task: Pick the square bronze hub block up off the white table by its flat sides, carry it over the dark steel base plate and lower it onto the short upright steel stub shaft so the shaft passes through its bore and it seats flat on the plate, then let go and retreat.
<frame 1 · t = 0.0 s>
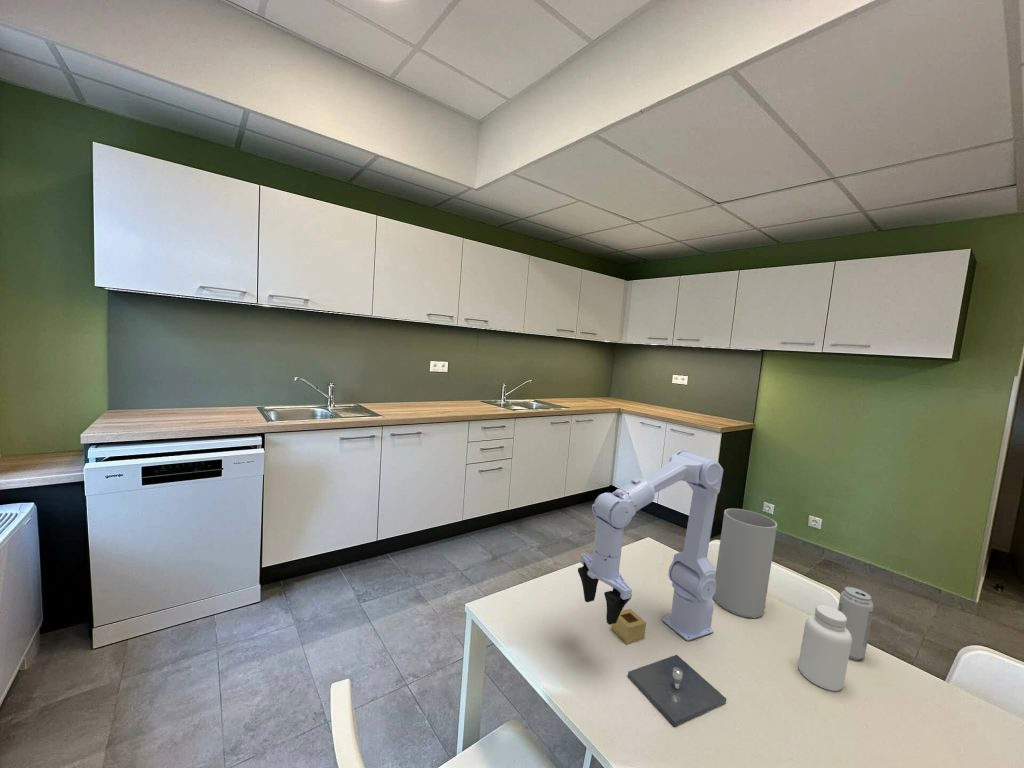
hand: (600, 611, 87), 10 cm above the table, fingers open, 7 cm apart
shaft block: (675, 689, 80), on the table
cylinder vase: (737, 605, 112), on the table
energy drink can: (847, 653, 96), on the table
hub: (627, 633, 96), on the table
pill bottle: (819, 678, 88), on the table
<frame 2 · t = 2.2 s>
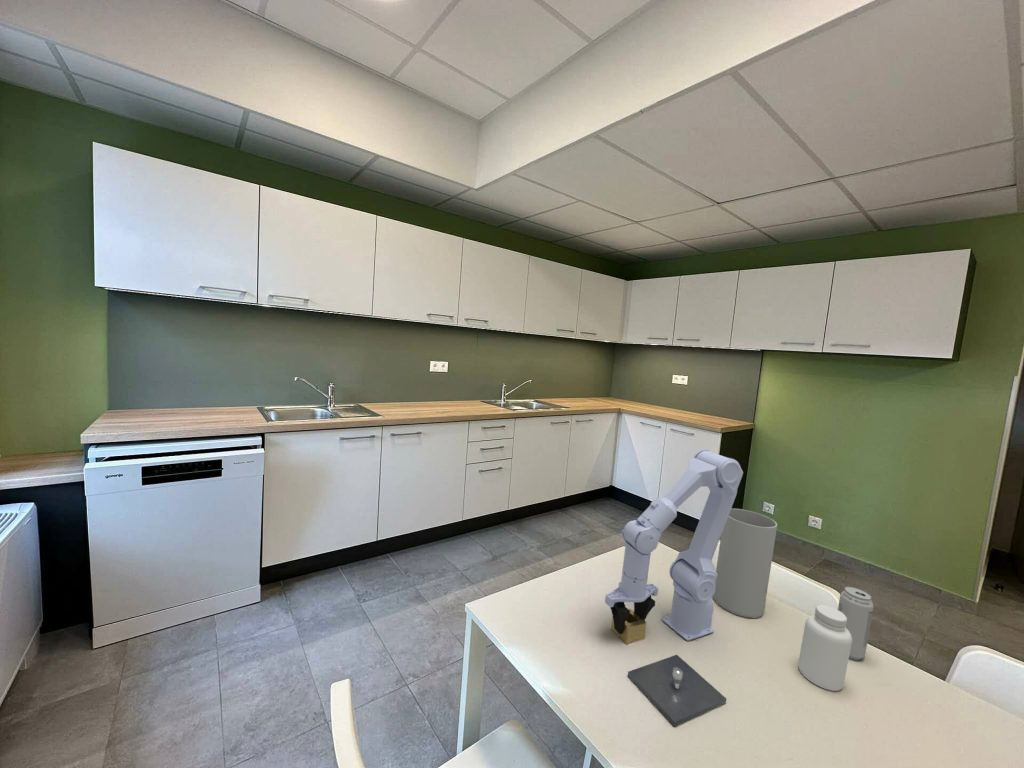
hand: (628, 628, 95), 1 cm above the table, fingers closed on hub, 5 cm apart
hub: (627, 633, 96), on the table, touching gripper
everything else where it was.
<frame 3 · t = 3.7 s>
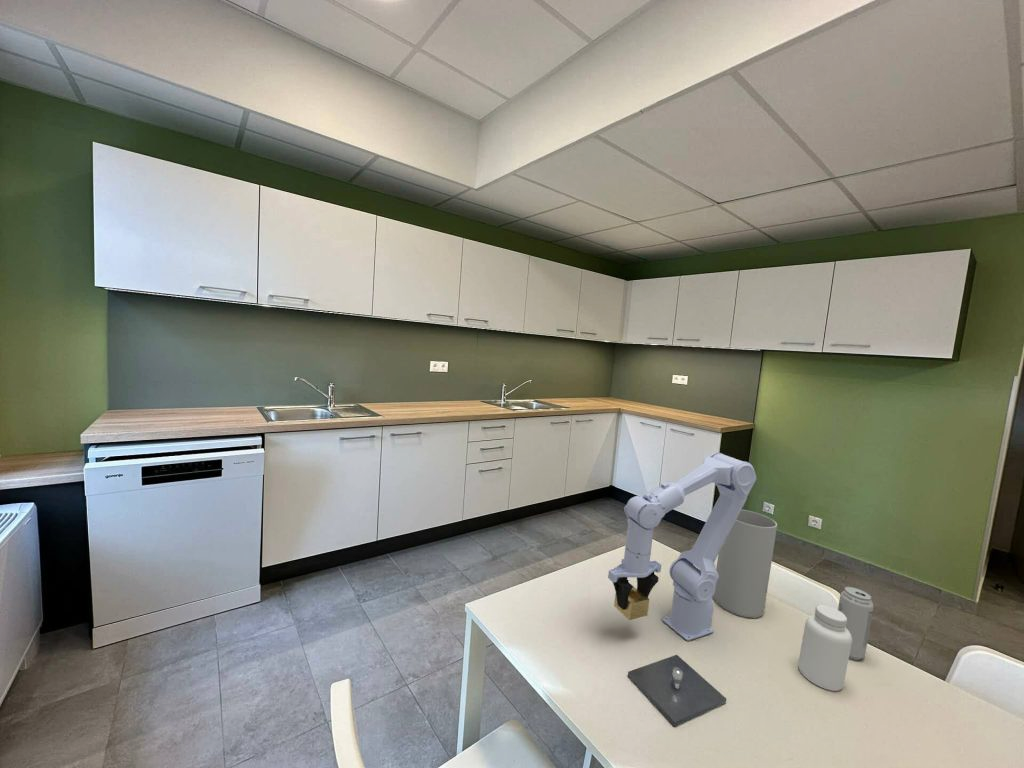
hand: (631, 604, 95), 7 cm above the table, fingers closed on hub, 5 cm apart
hub: (630, 610, 95), point 6 cm above the table, touching gripper
everything else where it was.
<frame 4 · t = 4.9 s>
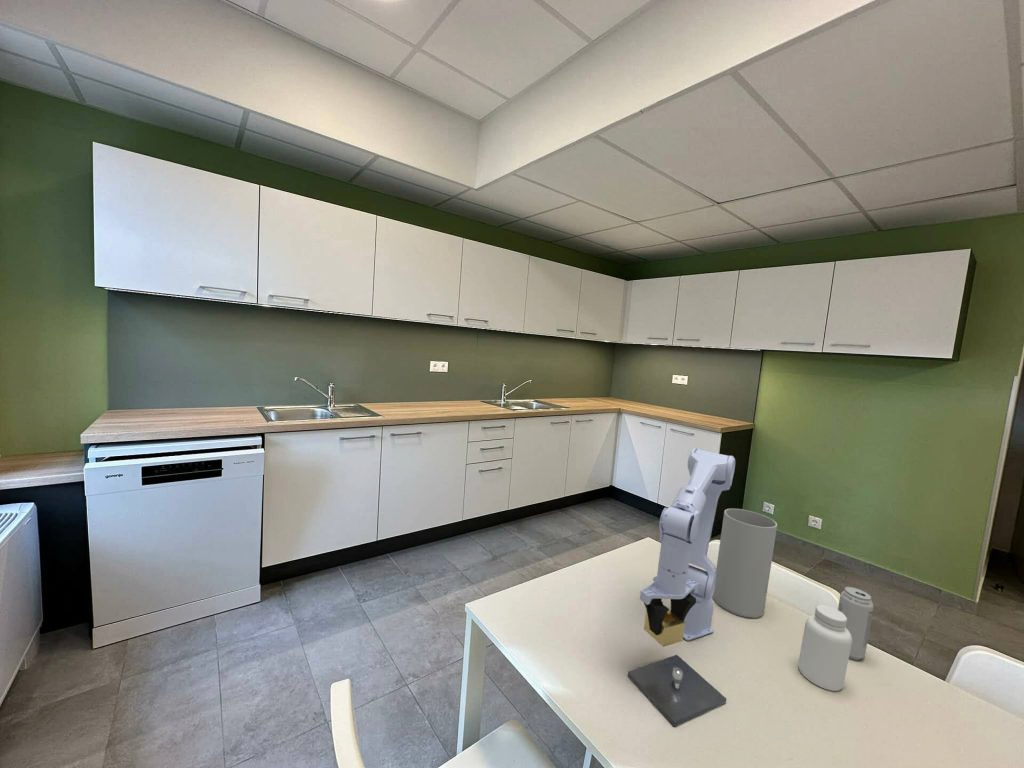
hand: (664, 628, 84), 9 cm above the table, fingers closed on hub, 5 cm apart
hub: (662, 635, 84), point 8 cm above the table, touching gripper
everything else where it was.
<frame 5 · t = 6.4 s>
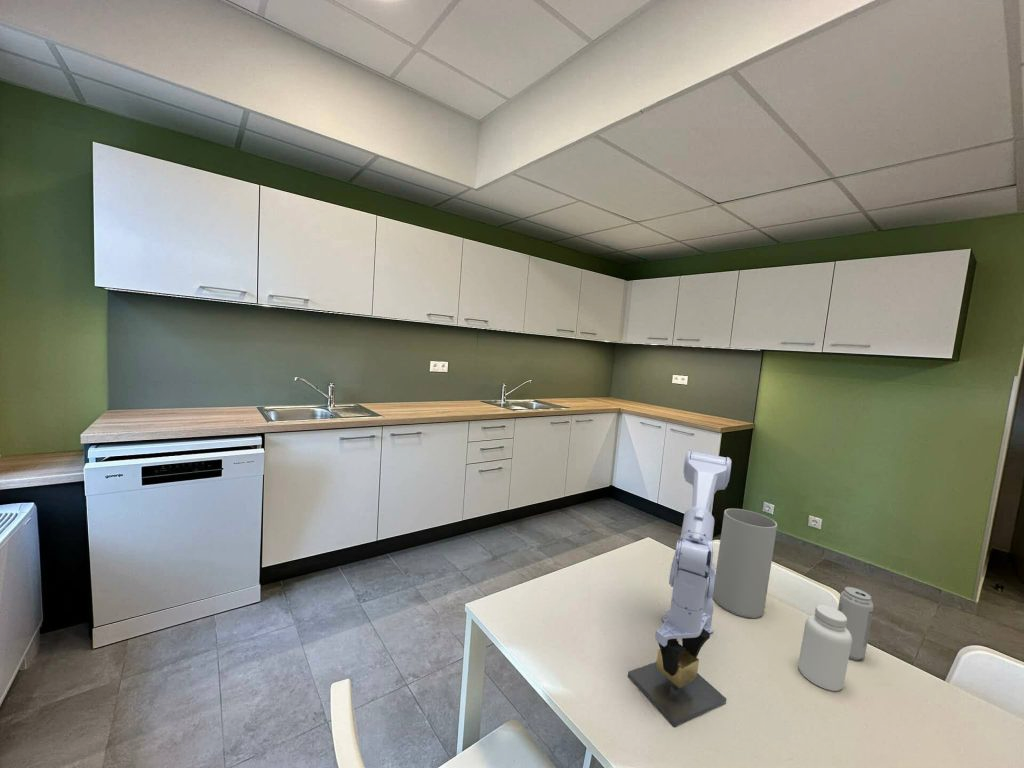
hand: (678, 666, 80), 5 cm above the table, fingers closed on hub, 5 cm apart
hub: (676, 673, 80), point 3 cm above the table, touching gripper
everything else where it was.
when the fingers open (4 cm above the table, at t = 7.6 s): hub drops 1 cm, resting on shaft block.
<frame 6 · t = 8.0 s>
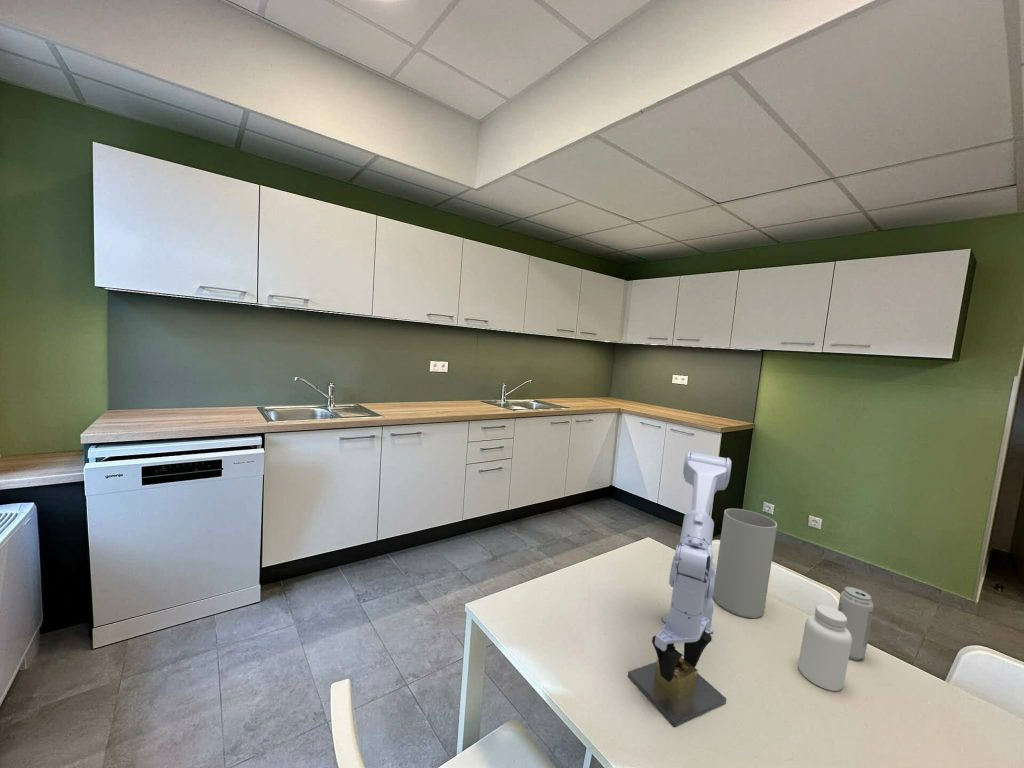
hand: (677, 671, 80), 4 cm above the table, fingers open, 7 cm apart
hub: (674, 683, 81), point 1 cm above the table, touching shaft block
everything else where it was.
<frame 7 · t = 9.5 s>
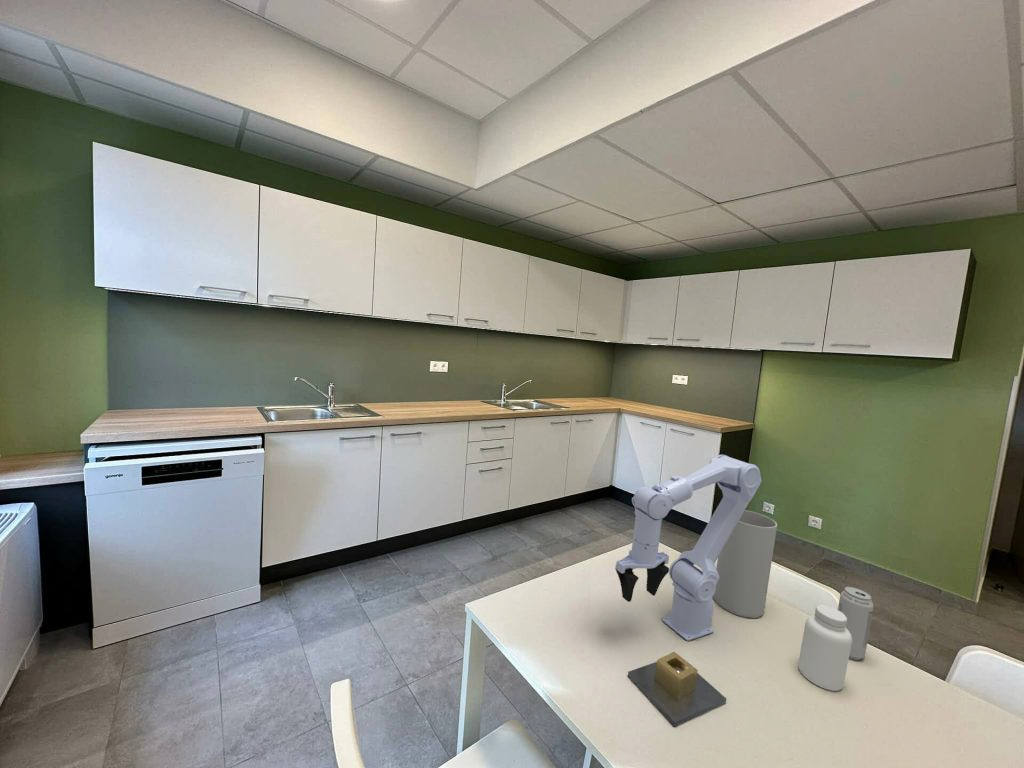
hand: (638, 596, 94), 10 cm above the table, fingers open, 7 cm apart
nothing on the table moved.
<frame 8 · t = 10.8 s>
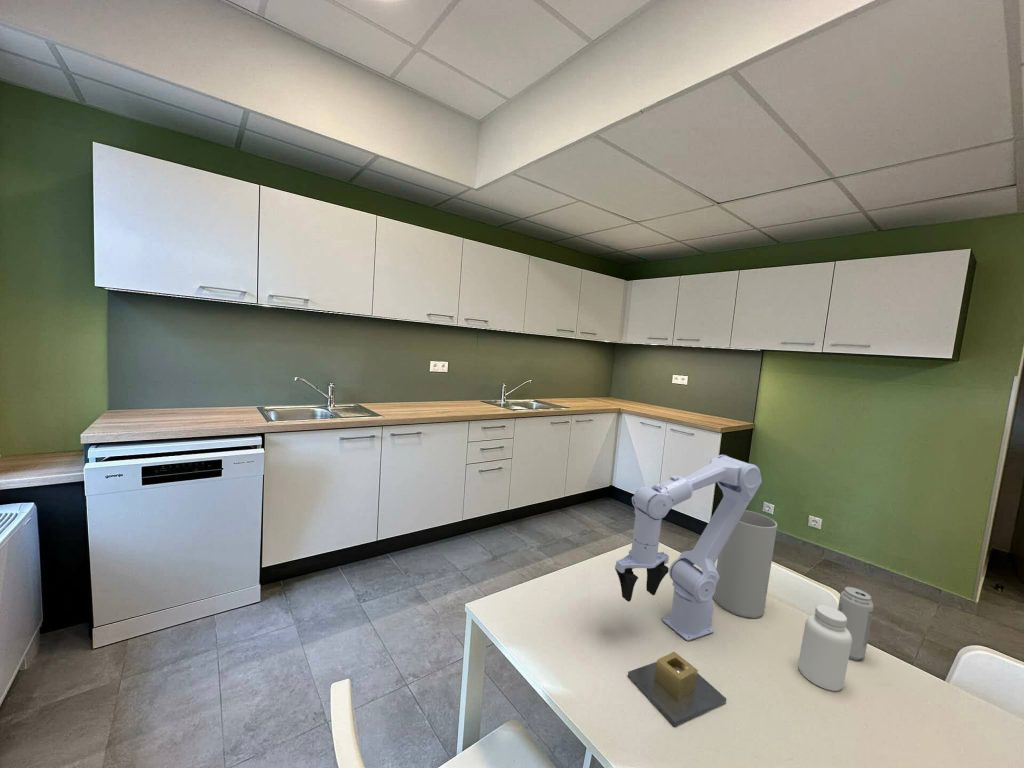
hand: (638, 595, 94), 10 cm above the table, fingers open, 7 cm apart
nothing on the table moved.
at the end: hub 0.3 cm off-centre on the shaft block, point 1.0 cm above the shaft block's base; hub tilted 0°; the gripper is holding nothing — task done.
